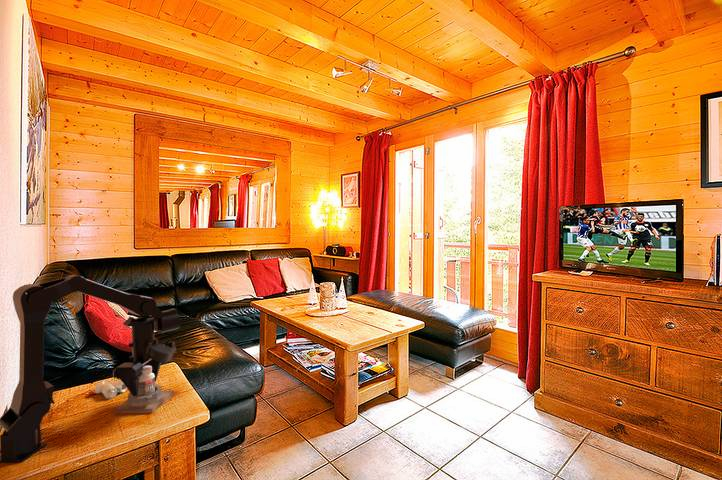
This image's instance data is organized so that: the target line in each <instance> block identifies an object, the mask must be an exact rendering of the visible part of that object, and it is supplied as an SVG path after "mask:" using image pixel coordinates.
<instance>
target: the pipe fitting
mask: <svg viewBox="0 0 722 480" xmlns="http://www.w3.org/2000/svg"><path fill="white" fill-rule="evenodd" d="M127 389H128V388H127V387H126V386H125V384H124V383H123V382H122V381H121V380H119V381H98V382H97V384H96V385H95V387H94V392H95V394H102V395H103V397H105V399H106V400H107V399H112V398H114V397H116V395H117V394H118V393H125V392H126V391H127Z"/></svg>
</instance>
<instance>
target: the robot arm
mask: <svg viewBox="0 0 722 480" xmlns="http://www.w3.org/2000/svg"><path fill="white" fill-rule="evenodd" d="M76 292H78V293H80V294H84V295H87V296H90V297H93V298H96V299H99V300H102V301H105V302H107V303H108V302H109V303H111V304H114V305H116V306H117V307H120V308H121V309H123V310H125V311H127V312H128V313H130V314H132V315H136V316H141V317H136V318H135V317H133V316H128V318H127V319H126V320H125V321H123V323H122V325H123V326H126V327H128V328H130V327H131V342H129V343H128V348H131V351H132V355H131V356H129V357H128V360H129V362H123V363H121V364H120V365H118V366H115V368H114V369H113V370H112V378H113V379H117V380H119V381H122V382H123V383H124V384H125V386H126V387H127V389H128V391H129V393H130V392H131V394H132V395H133V396H137V394H138V384H139V378H140V376H141V375H142V374H143V373H142V370H143V366H152V373H154V375H155V382H156V381H157V378H158V375H159V371H160V369H161V366H162V364H167V363H168V362H169V361H170V360H172V359H173V356H174V354H175V353H177V347H176V342H175V341H172V340H170V341H168V342H167V343H162V344H161V343H160V342H159V339H158V337H155V332H157V333H158V334H164V333H167V332H171V331H175V330H180V328H181V325H182V319H181V317H180V316H181V315H179V313H178V309H177V308H169V309H167V310H161V309H160V308H159V307H158V306H157V302H156V301H157V300H155V299H154V298H153V297H149V296H145V295H141V294H140V295H139V294H134V293H129V292H124V291H122V290H119V289H115V288H112V287H110V286H106V285H104V284H102V283H98V282H96V281H93V280H91V279H87V278H85V277H84V276H82V275H78V274H77V275H76V274H70V275H68V276H65V277H62V278H58V279H54V280H48V281H45V282H42V283H38V284H34V283H32V284H31V283H28V284H24V285H21V286H18V287H17V289H15V290H14V291H13V293H12V302H13V305H14V311H15V312H16V313H15V314H16V316H17V319H18V322H19V368H18V369H19V371H18V375H19V376H18V377H19V378H18V379H19V380H18V383H17V386H16V387H15V389H14V392H13V395H12V399H11V404H10V407H9V408H8V409H7V410H6V411H5V412H4V413H3V414H2V415H1V416H0V427H1V428H3V429H4V431H3V432H2V434H0V463H22V462H24V461H26V460H27V459H28V458H30V457H31V456H33V455H34V454H36V453H38V451H40V450H42V449H43V448H44V447H46V446H47V442H42V435H41V434H42V432H41V431H42V430H41V429H42V427H41V424H42V421H43V418H44V417H45V416H46V415H47V414H48V413H49V412H50V410H51V406H52V404H55V400H54V399H53V396H54V391H55V386H54V385H52V384H51V383H50V382H48V381H47V380H46V381H45V380H44V367H45V366H44V362H45V361H44V360H45V357H44V355H45V322H46V320H47V317H48V315H49V313H50V310H51V307H52V302H54V301H57V300H58V301H59V300H61V299H63V298H64V297H67V296H69V295H70V294H71V295H72V294H73V293H76ZM147 317H149V318H147ZM130 361H131V362H130Z"/></svg>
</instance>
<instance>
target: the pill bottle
mask: <svg viewBox="0 0 722 480" xmlns="http://www.w3.org/2000/svg"><path fill="white" fill-rule="evenodd" d="M142 373H143V374H142V375H141V376H140V378H139V384H138V394H137V396H135V397H142V396H147V395H150V394H152V393H154V392H155V385H156V381H155V375H154V373H152V366H147V365H143V370H142Z"/></svg>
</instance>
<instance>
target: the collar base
mask: <svg viewBox="0 0 722 480" xmlns="http://www.w3.org/2000/svg"><path fill="white" fill-rule="evenodd" d="M172 396H174V390H162V386H160V385H157V384H155V392H154V393H152V394H150V395H147V396H142V397H135V396H133V395H132V394H131V392H130V391H129V393H128V395H127V399H126V400H125V401H124V402H123V403H121V404H120V405H118V406H117V407H116V408H114V409H113V411H114V412H113V413H114V414H153V413H154V412H156V411H157V410H158V409H159V408H160V407H162V405H163V404H165V403H166V402H167V401H168V400H169V399H170V398H171V397H172Z"/></svg>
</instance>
